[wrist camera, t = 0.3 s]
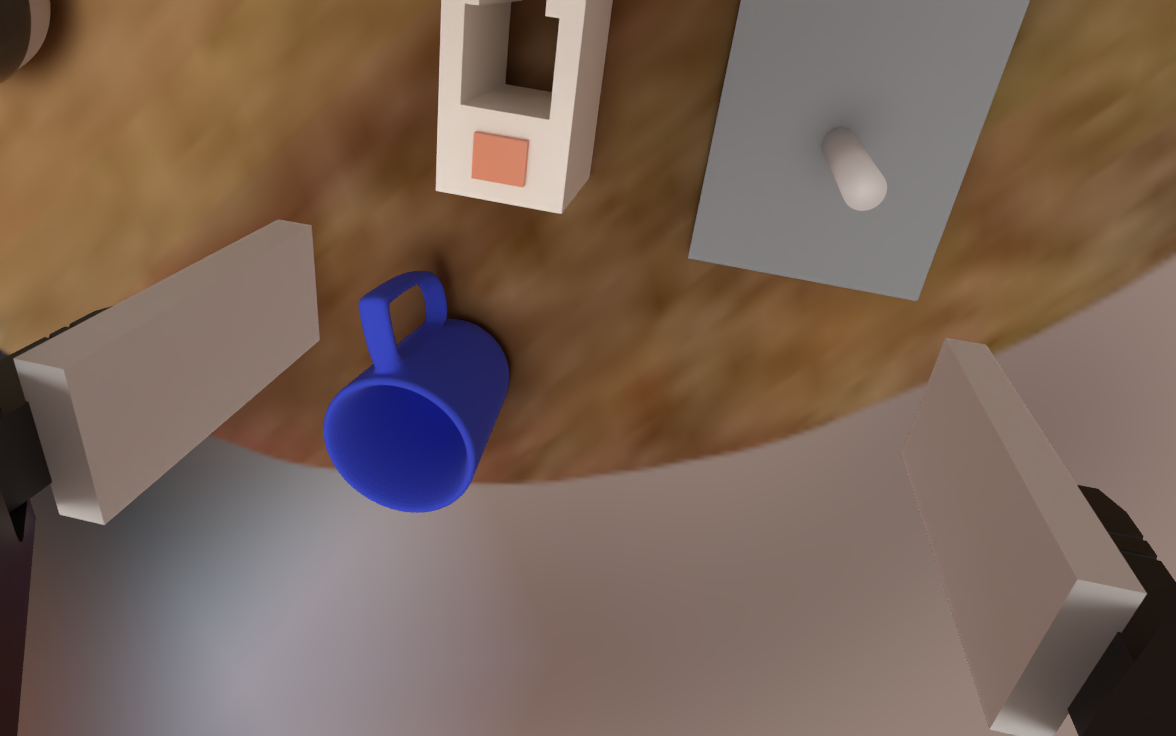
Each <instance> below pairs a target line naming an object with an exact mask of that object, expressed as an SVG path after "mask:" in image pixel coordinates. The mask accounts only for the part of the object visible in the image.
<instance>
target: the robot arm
mask: <svg viewBox="0 0 1176 736" xmlns="http://www.w3.org/2000/svg"><path fill="white" fill-rule="evenodd" d="M318 341H319V326H318V312H317V298H316V283H315V269H314V255H313V240H312V226H311V225H306V224H301V223H295V222H289V221H284V220H276V221H274V222H272V223H270V224H268V225H266V226H265V227H263V228H261V229H259V230H257V231H255V232H253V233H251V234H249V235H247V236H246V237H244V238H242V239H240V240H238V241H236V242H234V243H232V244H230V245H228V246H227V247H225V248H223V249H221V250H219V251H217V252H215V253H213V254H211V255H209V256H207V257H206V258H204V259H202V260H200V261H198V262H196V263H194V264H192V265H190V266H188V267H187V268H185V269H183V270H181V271H179V272H177V273H175V274H173V275H171V276H169V277H168V278H166V279H164V280H162V281H160V282H158V283H156V284H154V285H152V286H150V287H148V288H147V289H145V290H143V291H141V292H139V293H137V294H135V295H133V296H131V297H129V298H128V299H126V300H124V301H122V302H120V303H118V304H116V305H114V306H111V307H108V308H104V309H101V310H97V311H94V312H92V313H90V314H88V315H86V316H84V317H82V318H80V319H79V320H77V321H75V322H73V323H71V324H70V326H69V327H63V328H61V329H59V330H57V331H55V332H53V333H51V334H50V336H49V338H46V337H44V338H42V339H40V340H38V341H36V342H34V343H32V344H30V345H28V346H26V347H24V348H23V349H21V350H19V351H17V352H15V353H13V354H11V355H9V356H7V357H5V358H3V359H2V360H0V736H17V732H18V721H19V709H20V697H21V696H20V695H21V685H22V673H23V662H24V650H25V638H26V626H27V614H28V603H29V591H30V578H31V566H32V555H33V544H34V531H35V520H36V517H35V514H34V511H33V508H32V505H31V502H30V498H31V497H33V496H34V495H35V494H37V493H38V492H39V491H41V490H42V489H43V488H45V487H46V486H48V485H49V484H51V487H52V491H53V494H54V497H55V501H56V504H57V508H58V511H59V514H60V515H64V516H68V517H72V518H77V519H81V520H85V521H90V522H95V523H99V524H103V525H105V524H106V523H107V522H108V521H110V520H111V519H112V518H113V517H114V516H115V515H117V514H118V513H119V512H120V511H121V510H122V509H123V508H125V507H126V506H127V505H128V504H129V503H131V501H133V500H134V499H135V498H136V497H137V496H139V495H140V494H141V493H142V492H143V491H144V490H146V489H147V488H148V487H149V486H150V485H151V484H153V483H154V482H155V481H156V480H157V479H158V478H160V477H161V476H162V475H163V474H164V473H165V472H166V471H168V470H169V469H170V468H171V467H172V466H173V465H175V464H176V463H177V462H178V461H179V460H181V459H182V458H183V457H184V456H185V455H186V454H188V453H189V452H190V451H191V450H192V449H193V448H194V447H196V446H197V445H198V444H199V443H200V442H201V441H203V440H204V439H205V438H206V437H207V436H209V435H210V434H211V433H212V432H213V431H214V430H215V429H217V428H218V427H219V426H220V425H221V424H222V423H224V422H225V421H226V420H227V419H228V418H229V417H231V416H232V415H233V414H234V413H235V412H236V411H238V410H239V409H240V408H241V407H242V406H243V405H245V404H246V403H247V402H248V401H249V400H250V399H252V398H253V397H254V396H255V395H256V394H257V393H259V392H260V391H261V390H262V389H263V388H264V387H266V386H267V385H268V384H269V383H270V382H271V381H273V380H274V379H275V378H276V377H277V376H278V375H280V374H281V373H282V372H283V371H284V370H285V369H286V368H288V367H289V366H290V365H291V364H292V363H293V362H295V361H296V360H297V359H298V358H299V357H300V356H302V355H303V354H304V353H305V352H306V351H307V350H309V349H310V348H311V347H312V346H313V345H314V344H316V343H317V342H318ZM901 456H902V459H903V462H904V465H905V468H906V471H907V474H908V477H909V481H910V484H911V487H912V490H913V493H914V496H915V499H916V502H917V505H918V508H919V512H920V515H921V518H922V521H923V524H924V527H925V530H926V533H927V536H928V539H929V543H930V546H931V549H932V552H933V555H934V558H935V561H936V565H937V568H938V571H939V574H940V577H941V580H942V583H943V586H944V589H945V593H946V595H947V598H948V602H949V605H950V608H951V611H952V614H953V617H954V620H955V624H956V627H957V630H958V633H959V636H960V639H961V642H962V645H963V648H964V652H965V654H966V658H967V661H968V664H969V667H970V670H971V673H972V676H973V680H974V683H975V686H976V689H977V692H978V695H979V698H980V702H981V704H982V708H983V711H984V714H985V717H986V720H987V723H988V726H989V729H990V730H994V731H998V732H1003V733H1007V734H1011V735H1016V736H1054V735H1055V733H1056V732H1057V730H1058V729H1059V727H1060V726H1061V724H1062V723H1063V721H1064V719H1065V718H1066V716H1067V715H1068V713H1069V714H1070V717H1071V719H1072V721H1073V724H1074V726H1075V728H1076V730H1077V733H1078V735H1079V736H1176V582H1175V581H1174V579H1173V578H1172V576H1171V575H1170V573H1169V572H1168V570H1167V569H1166V568H1165V566H1164V565H1163V563H1162V562H1161V561H1158V560H1157V555H1156V553H1155V552H1154V551H1153V549H1152V548H1151V546H1150V545H1149V543H1148V542H1147V541H1144V540H1143V535H1142V534H1141V532H1140V531H1139V529H1138V528H1137V527H1136V525H1135V524H1134V522H1133V521H1132V519H1131V518H1130V517H1129V515H1128V514H1127V513H1126V511H1124V510H1123V509H1122V508H1121V507H1119V506H1118V505H1117V504H1116V503H1115V502H1113V501H1112V500H1111V499H1110V498H1108V497H1107V496H1106V495H1105V494H1104V493H1102V492H1101V491H1100V490H1099V489H1096V488H1090V487H1085V486H1080V485H1077V484H1076V483H1075V481H1074V480H1073V478H1072V477H1071V475H1070V474H1069V472H1068V471H1067V469H1066V467H1065V466H1064V465H1063V463H1062V461H1061V460H1060V458H1059V457H1058V455H1057V454H1056V452H1055V450H1054V449H1053V447H1052V446H1051V444H1050V443H1049V441H1048V440H1047V438H1046V436H1045V435H1044V433H1043V432H1042V430H1041V429H1040V427H1039V426H1038V424H1037V423H1036V421H1035V419H1034V418H1033V416H1032V415H1031V413H1030V412H1029V410H1028V409H1027V407H1026V406H1025V404H1024V402H1023V401H1022V399H1021V398H1020V396H1019V395H1018V393H1017V392H1016V390H1015V388H1014V387H1013V385H1012V384H1011V383H1010V381H1009V379H1008V378H1007V376H1006V374H1005V373H1004V371H1003V370H1002V369H1001V367H1000V365H999V364H998V362H997V361H996V359H995V357H994V356H993V354H992V353H991V351H990V350H989V348H988V347H987V345H984V344H979V343H973V342H967V341H962V340H956V339H950V338H945V340H944V343H943V345H942V348H941V350H940V353H939V356H938V358H937V361H936V363H935V366H934V369H933V371H932V374H931V376H930V379H929V382H928V384H927V387H926V389H925V392H924V394H923V397H922V400H921V402H920V405H919V408H918V410H917V413H916V415H915V418H914V420H913V423H912V426H911V428H910V431H909V433H908V436H907V438H906V441H905V444H904V446H903V449H902V451H901Z"/></svg>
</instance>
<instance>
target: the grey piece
mask: <svg viewBox="0 0 1176 736" xmlns="http://www.w3.org/2000/svg"><path fill="white" fill-rule="evenodd" d="M1029 2H1030V0H741V3H740V7H739V12H738V17H737V22H736V27H735V32H734V37H733V41H732V46H731V51H730V56H729V61H728V66H727V71H726V76H725V80H724V85H723V90H722V95H721V100H720V105H719V110H718V114H717V119H716V124H715V129H714V134H713V139H712V144H711V148H710V153H709V158H708V163H707V168H706V173H705V178H704V183H703V187H702V192H701V197H700V202H699V207H698V212H697V217H696V221H695V226H694V231H693V236H692V241H691V246H690V251H689V256H688V258H689V259H695V260H700V261H705V262H711V263H716V264H721V265H727V266H732V267H737V268H743V269H748V270H753V271H759V272H764V273H769V274H775V275H780V276H785V277H791V278H796V279H801V280H807V281H812V282H817V283H823V284H828V285H833V286H839V287H844V288H849V289H855V290H860V291H865V292H871V293H876V294H881V295H887V296H892V297H897V298H903V299H908V300H913V301H917V300H918V298H919V295H920V292H921V290H922V287H923V284H924V282H925V279H926V276H927V274H928V271H929V268H930V266H931V263H932V260H933V258H934V255H935V252H936V250H937V247H938V244H939V242H940V239H941V236H942V234H943V231H944V228H945V226H946V223H947V220H948V218H949V215H950V212H951V210H952V207H953V204H954V202H955V199H956V196H957V194H958V191H959V188H960V186H961V183H962V180H963V178H964V175H965V172H966V170H967V167H968V164H969V162H970V159H971V156H972V154H973V151H974V148H975V146H976V143H977V140H978V138H979V135H980V132H981V130H982V127H983V124H984V122H985V119H986V116H987V114H988V111H989V108H990V106H991V103H992V100H993V98H994V95H995V92H996V90H997V87H998V84H999V82H1000V79H1001V76H1002V74H1003V71H1004V68H1005V66H1006V63H1007V60H1008V58H1009V55H1010V52H1011V50H1012V47H1013V44H1014V42H1015V39H1016V36H1017V34H1018V31H1019V28H1020V26H1021V23H1022V20H1023V18H1024V15H1025V12H1026V10H1027V7H1028V4H1029Z"/></svg>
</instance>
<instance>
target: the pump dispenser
mask: <svg viewBox="0 0 1176 736" xmlns="http://www.w3.org/2000/svg"><path fill="white" fill-rule="evenodd" d="M49 23H50V0H0V83H2V82H4V81H5V80H7V79H8V78H10V77H11V76H12V75H13V74H14V73H15V72H16V71H17V70H18V69H19V68H21V67H22V66H24V65H25V64H26V63H27V62H28V61H30V60H31V59H32V58H33V57H34V56H35V54H36V53H37V52H38V50H39V49H40V47H41V46H42V44H43V42H44V40H45V37H46V35H47V32H48V28H49Z"/></svg>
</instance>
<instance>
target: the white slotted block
mask: <svg viewBox="0 0 1176 736" xmlns="http://www.w3.org/2000/svg"><path fill="white" fill-rule="evenodd" d="M515 1H523V0H441V31H440V64H439V97H438V131H437V164H436V191H440V192H445V193H451V194H456V195H462V196H467V197H473V198H478V199H483V200H489V201H494V202H500V203H505V204H510V205H516V206H521V207H527V208H532V209H537V210H543V211H548V212H554V213H559V214H562V213H563V212H564V210H565V209H566V208H567V206H568V205H569V204H570V202H571V201H572V200H573V199H574V197H575V196H576V195H577V193H578V192H579V191H580V190H581V188H582V187H583V186H584V184H585V183H586V182H587V180H588V179H589V178H590V171H591V164H592V156H593V148H594V141H595V133H596V125H597V118H598V110H599V102H600V95H601V87H602V79H603V72H604V64H605V56H606V49H607V41H608V33H609V26H610V18H611V10H612V3H613V0H547V2H546V12H545V16H548V17H555V18H560V19H559V29H558V39H557V49H556V59H555V69H554V79H553V89H552V92H549V91H543V90H537V89H531V88H525V87H519V86H513V85H507V84H505V83H506V69H507V54H508V40H509V26H510V12H511V2H515Z"/></svg>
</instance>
